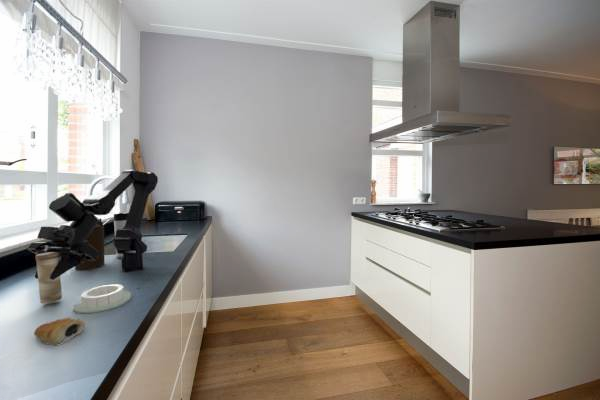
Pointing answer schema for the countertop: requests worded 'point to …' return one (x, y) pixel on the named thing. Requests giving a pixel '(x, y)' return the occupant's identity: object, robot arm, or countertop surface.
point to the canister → (48, 277)
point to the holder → (102, 299)
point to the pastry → (59, 331)
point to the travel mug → (119, 225)
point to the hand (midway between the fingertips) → (43, 278)
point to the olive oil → (98, 244)
